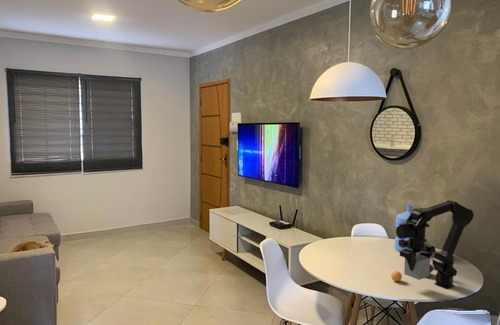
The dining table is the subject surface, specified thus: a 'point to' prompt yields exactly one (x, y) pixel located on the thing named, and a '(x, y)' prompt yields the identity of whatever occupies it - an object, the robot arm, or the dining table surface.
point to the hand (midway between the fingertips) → (416, 268)
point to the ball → (396, 276)
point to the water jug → (401, 219)
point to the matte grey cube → (418, 267)
